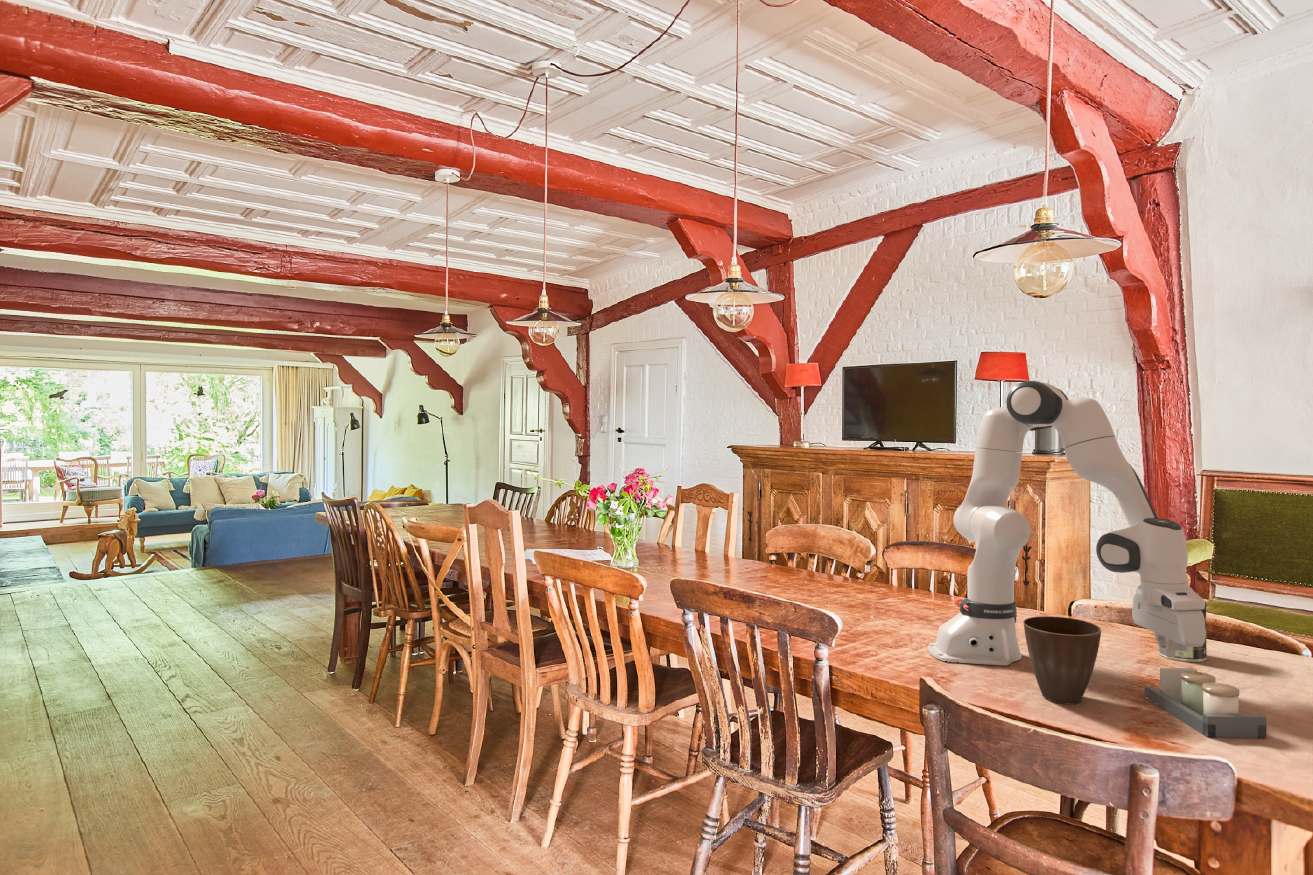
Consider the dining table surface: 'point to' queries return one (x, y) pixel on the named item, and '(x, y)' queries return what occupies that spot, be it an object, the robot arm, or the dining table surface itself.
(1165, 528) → the robot arm
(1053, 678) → the plant pot
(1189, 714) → the tray
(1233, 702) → the cream jar
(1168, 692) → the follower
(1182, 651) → the coffee can
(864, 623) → the dining table surface
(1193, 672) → the sage jar
